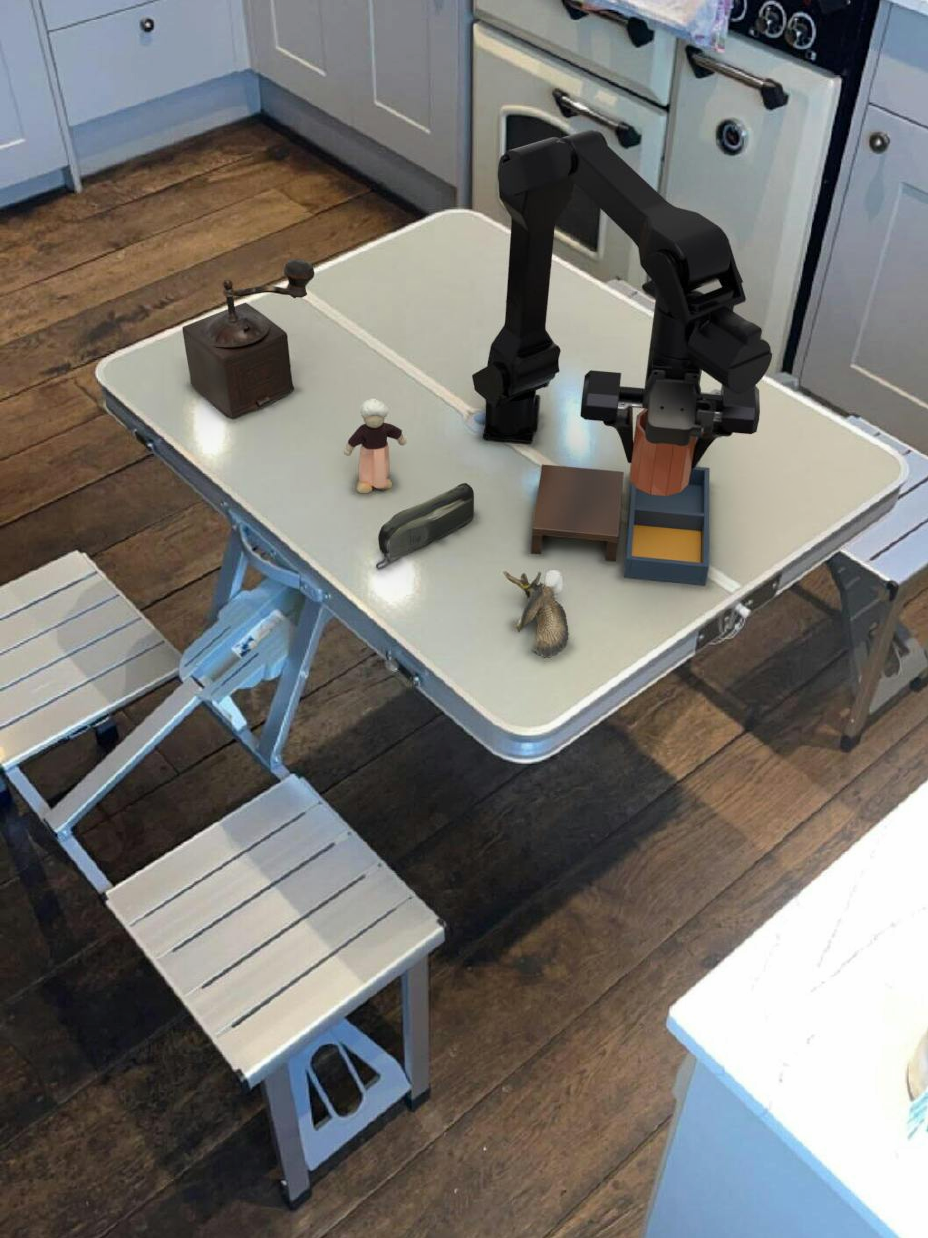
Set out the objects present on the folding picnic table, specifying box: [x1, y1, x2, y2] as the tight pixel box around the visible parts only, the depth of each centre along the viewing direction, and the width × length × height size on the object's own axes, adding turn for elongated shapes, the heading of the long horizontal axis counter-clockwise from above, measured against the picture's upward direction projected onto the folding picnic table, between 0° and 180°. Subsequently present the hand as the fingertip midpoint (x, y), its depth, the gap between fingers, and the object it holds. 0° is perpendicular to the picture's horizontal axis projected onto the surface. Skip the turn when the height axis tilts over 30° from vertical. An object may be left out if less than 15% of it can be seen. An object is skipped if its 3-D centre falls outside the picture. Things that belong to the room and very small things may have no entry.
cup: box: [628, 408, 696, 496], centre depth 143 cm, size 7×7×8 cm
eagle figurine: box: [503, 569, 570, 658], centre depth 142 cm, size 8×7×9 cm
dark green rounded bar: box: [375, 482, 475, 570], centre depth 152 cm, size 5×3×15 cm
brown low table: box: [530, 464, 625, 562], centre depth 155 cm, size 10×12×4 cm
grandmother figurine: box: [343, 398, 407, 494], centre depth 157 cm, size 8×4×13 cm, turn 117°
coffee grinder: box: [181, 258, 316, 420], centre depth 170 cm, size 16×11×18 cm
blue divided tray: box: [623, 466, 711, 586], centre depth 155 cm, size 9×18×3 cm, turn 172°
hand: (660, 463), depth 144 cm, fingers closed on cup, 6 cm apart
